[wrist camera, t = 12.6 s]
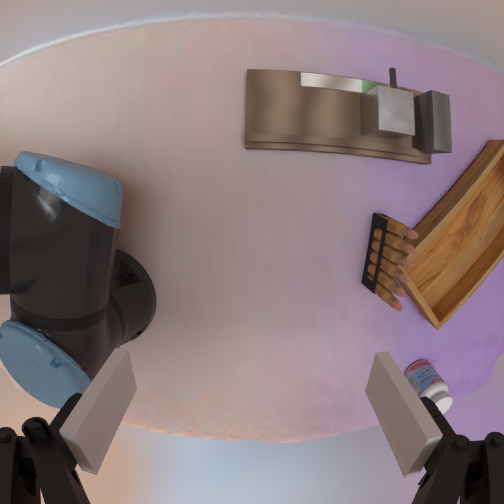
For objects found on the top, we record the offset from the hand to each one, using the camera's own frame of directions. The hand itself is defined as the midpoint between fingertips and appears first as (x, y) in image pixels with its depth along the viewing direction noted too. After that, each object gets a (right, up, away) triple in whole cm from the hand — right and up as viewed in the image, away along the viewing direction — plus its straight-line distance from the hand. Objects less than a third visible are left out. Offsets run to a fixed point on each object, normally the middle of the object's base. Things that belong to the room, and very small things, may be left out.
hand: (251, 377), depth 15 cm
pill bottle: (+32, -17, +34) cm, 49 cm away
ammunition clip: (+18, +7, +28) cm, 34 cm away
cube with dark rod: (+17, +26, +21) cm, 37 cm away
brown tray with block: (+13, +25, +23) cm, 37 cm away
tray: (+36, +11, +28) cm, 47 cm away
